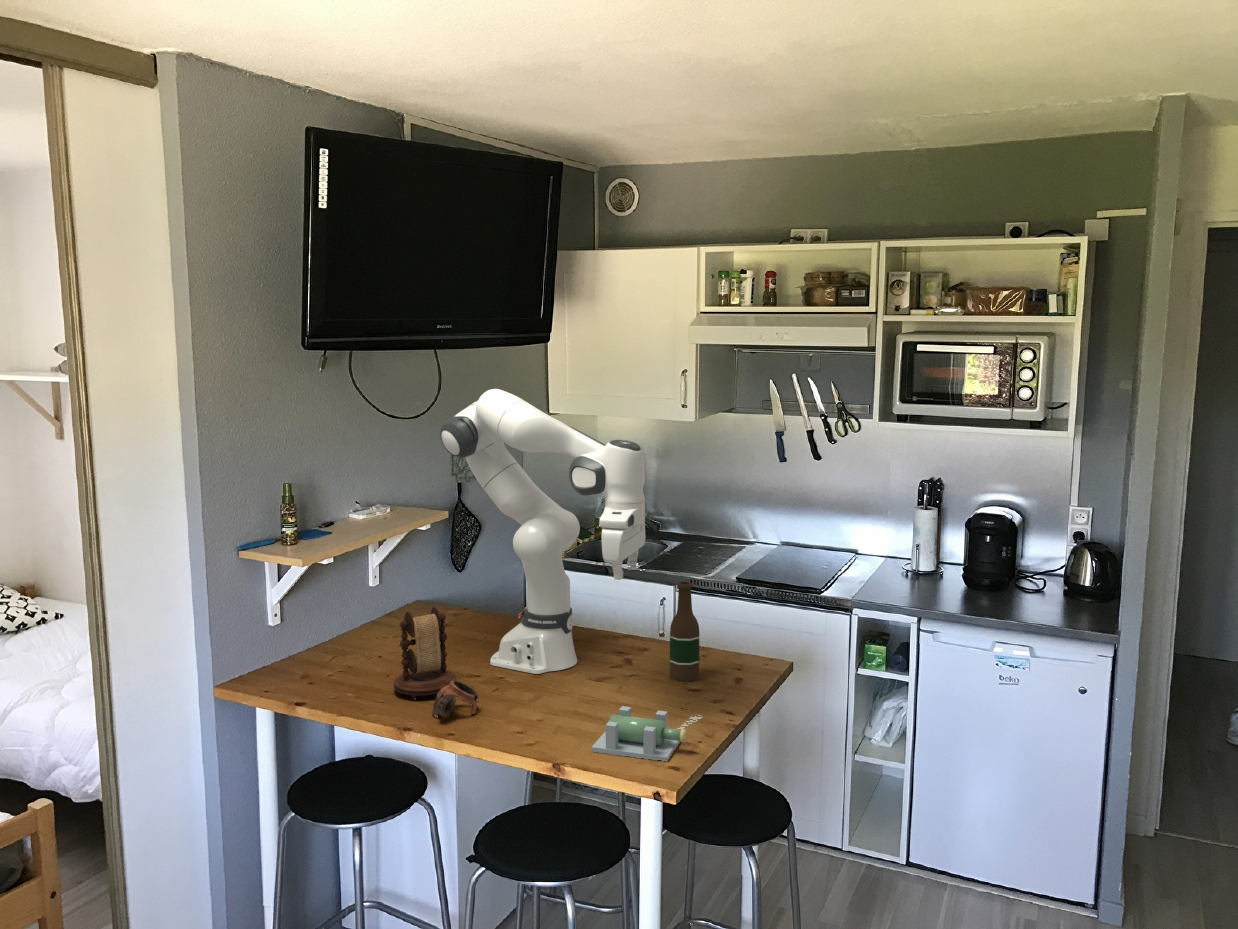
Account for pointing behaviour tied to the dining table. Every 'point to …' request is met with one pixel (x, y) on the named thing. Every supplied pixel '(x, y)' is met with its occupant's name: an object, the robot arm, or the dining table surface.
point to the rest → (639, 750)
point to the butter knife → (690, 721)
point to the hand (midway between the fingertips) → (625, 574)
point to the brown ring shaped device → (447, 699)
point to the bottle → (634, 728)
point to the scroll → (423, 655)
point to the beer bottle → (684, 639)
